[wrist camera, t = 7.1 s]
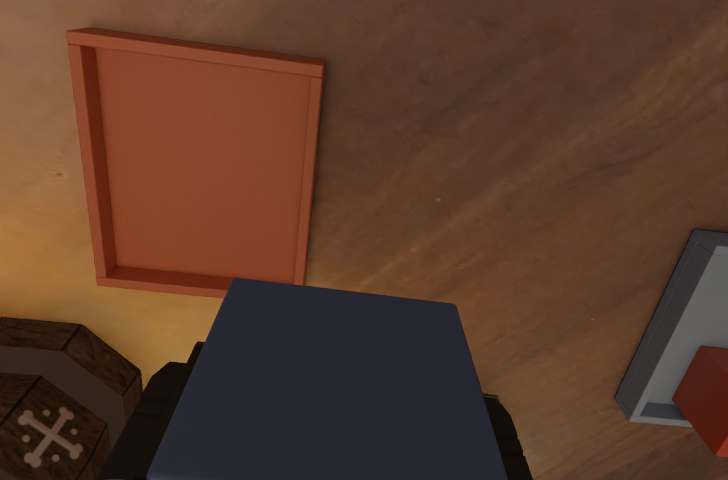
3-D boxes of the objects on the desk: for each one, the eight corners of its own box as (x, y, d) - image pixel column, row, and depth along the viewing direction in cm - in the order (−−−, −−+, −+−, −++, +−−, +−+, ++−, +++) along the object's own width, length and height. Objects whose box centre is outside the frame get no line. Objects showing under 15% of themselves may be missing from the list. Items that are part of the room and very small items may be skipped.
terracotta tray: (88, 27, 25) (65, 30, 23) (326, 59, 26) (323, 65, 24) (113, 266, 32) (96, 285, 30) (305, 286, 33) (301, 306, 31)
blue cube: (233, 275, 11) (142, 476, 6) (456, 302, 11) (519, 511, 7) (227, 436, 13) (158, 669, 9) (414, 455, 13) (440, 687, 9)
